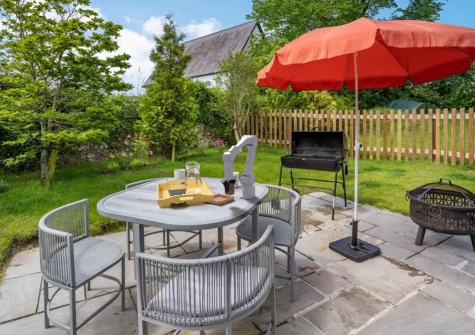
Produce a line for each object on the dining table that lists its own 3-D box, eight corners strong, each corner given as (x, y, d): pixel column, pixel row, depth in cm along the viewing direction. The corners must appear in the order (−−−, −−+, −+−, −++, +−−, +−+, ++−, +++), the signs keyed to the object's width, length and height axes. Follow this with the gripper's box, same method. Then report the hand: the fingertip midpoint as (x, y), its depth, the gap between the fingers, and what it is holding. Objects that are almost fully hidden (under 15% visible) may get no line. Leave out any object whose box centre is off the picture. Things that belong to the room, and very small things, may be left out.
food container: (168, 205, 198) (167, 190, 197) (169, 202, 204) (168, 188, 203) (187, 204, 201) (186, 189, 199) (187, 201, 207) (186, 187, 205)
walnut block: (228, 192, 200) (228, 182, 198) (234, 194, 196) (234, 183, 195) (224, 194, 196) (224, 183, 195) (230, 195, 193) (230, 184, 192)
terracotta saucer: (218, 196, 216) (218, 193, 216) (234, 200, 207) (234, 196, 207) (203, 201, 205) (203, 198, 204) (219, 205, 196) (219, 201, 195)
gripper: (226, 173, 186) (226, 194, 188) (240, 169, 197) (241, 189, 199) (217, 172, 190) (218, 192, 192) (232, 168, 201) (232, 188, 204)
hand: (229, 191), depth 196 cm, fingers closed on walnut block, 4 cm apart
